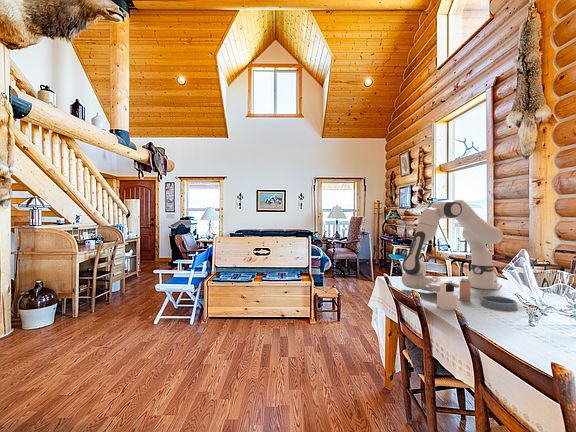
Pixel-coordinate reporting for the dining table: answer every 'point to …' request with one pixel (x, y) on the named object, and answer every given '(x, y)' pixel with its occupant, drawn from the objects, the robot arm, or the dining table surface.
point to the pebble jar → (464, 290)
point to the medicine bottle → (447, 297)
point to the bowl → (498, 302)
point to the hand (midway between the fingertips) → (456, 287)
